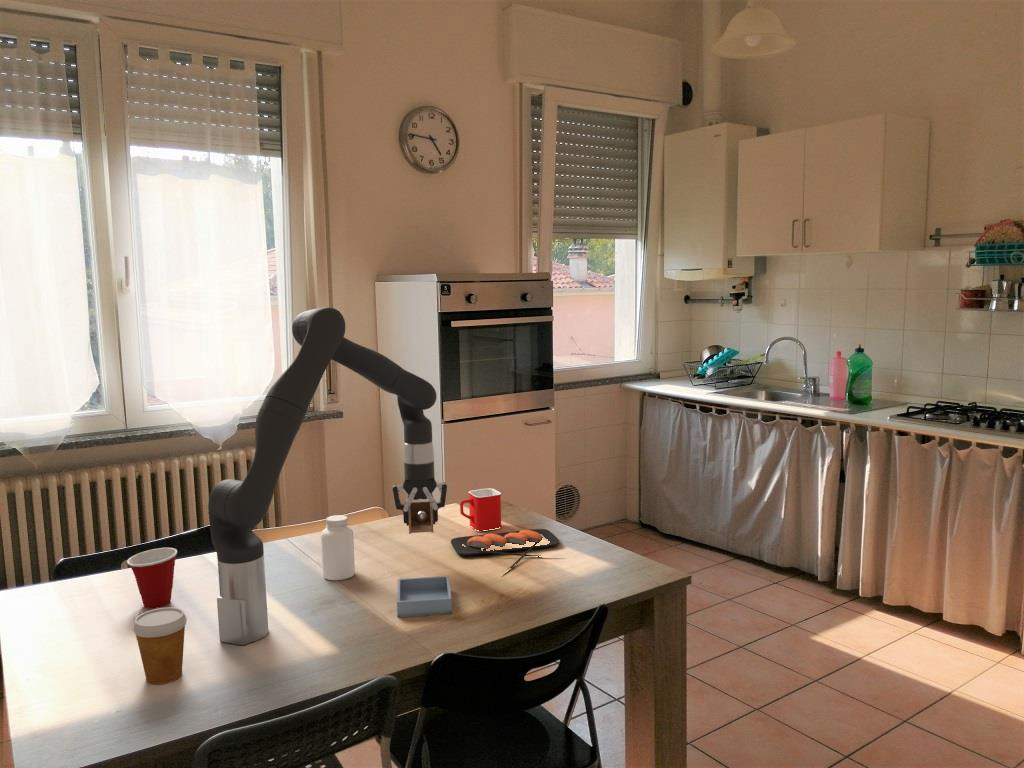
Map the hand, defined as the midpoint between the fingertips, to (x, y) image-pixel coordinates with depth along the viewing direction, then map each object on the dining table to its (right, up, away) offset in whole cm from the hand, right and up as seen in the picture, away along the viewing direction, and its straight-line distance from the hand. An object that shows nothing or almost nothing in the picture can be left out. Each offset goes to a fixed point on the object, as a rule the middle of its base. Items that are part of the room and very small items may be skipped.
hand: (421, 523), depth 208 cm
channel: (0, -1, 0) cm, 1 cm away
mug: (+14, -7, +34) cm, 38 cm away
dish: (+3, -15, -20) cm, 25 cm away
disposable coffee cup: (-43, -20, -52) cm, 71 cm away
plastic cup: (-60, -16, -17) cm, 64 cm away
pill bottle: (-20, -13, -2) cm, 24 cm away
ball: (0, +2, +2) cm, 3 cm away
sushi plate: (+23, -11, +12) cm, 28 cm away
